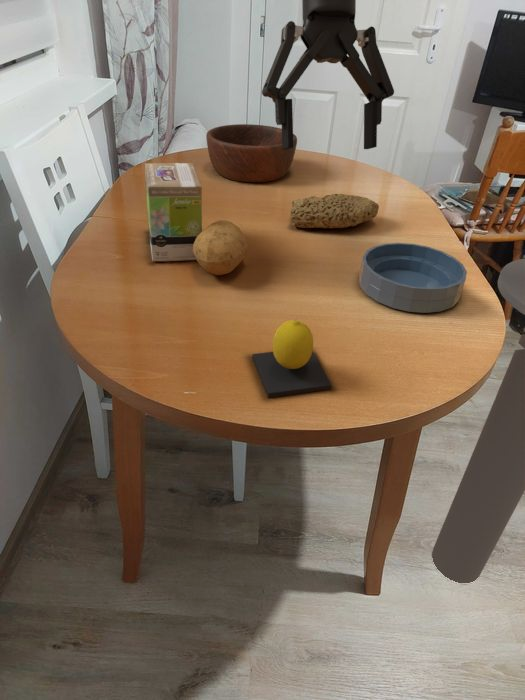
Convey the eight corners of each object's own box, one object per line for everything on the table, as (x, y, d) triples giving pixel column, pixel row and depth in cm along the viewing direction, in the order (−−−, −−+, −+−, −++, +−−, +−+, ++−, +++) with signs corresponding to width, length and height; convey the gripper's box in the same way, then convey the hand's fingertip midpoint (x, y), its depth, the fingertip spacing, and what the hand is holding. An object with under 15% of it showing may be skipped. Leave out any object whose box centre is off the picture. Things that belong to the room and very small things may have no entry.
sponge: (292, 239, 114) (384, 227, 111) (287, 203, 111) (382, 190, 108) (294, 226, 126) (378, 216, 123) (291, 194, 123) (376, 182, 120)
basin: (427, 263, 105) (433, 240, 102) (479, 309, 91) (487, 284, 88) (344, 269, 101) (347, 246, 98) (384, 319, 87) (390, 293, 84)
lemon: (299, 353, 76) (304, 307, 71) (316, 376, 72) (323, 328, 67) (265, 361, 74) (268, 313, 70) (280, 384, 70) (285, 335, 65)
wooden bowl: (262, 155, 162) (263, 120, 156) (312, 178, 146) (315, 140, 140) (191, 165, 150) (190, 128, 144) (236, 192, 134) (237, 151, 128)
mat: (310, 351, 78) (310, 347, 78) (331, 389, 71) (331, 384, 71) (252, 358, 76) (252, 353, 76) (268, 397, 69) (268, 393, 69)
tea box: (204, 260, 101) (202, 185, 92) (151, 263, 99) (145, 186, 90) (195, 230, 113) (193, 160, 104) (148, 231, 111) (142, 161, 102)
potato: (184, 283, 93) (182, 242, 88) (203, 251, 104) (203, 213, 100) (237, 290, 92) (238, 248, 87) (251, 256, 103) (252, 218, 99)
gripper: (392, 4, 80) (389, 150, 85) (236, -8, 73) (244, 152, 78) (420, -16, 73) (415, 144, 78) (251, -32, 66) (258, 145, 72)
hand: (329, 148), depth 78 cm, fingers open, 13 cm apart
